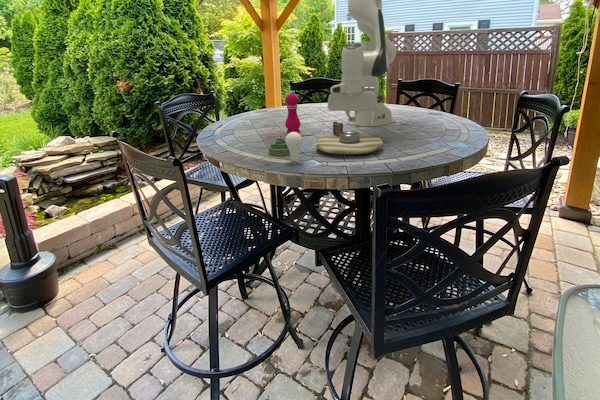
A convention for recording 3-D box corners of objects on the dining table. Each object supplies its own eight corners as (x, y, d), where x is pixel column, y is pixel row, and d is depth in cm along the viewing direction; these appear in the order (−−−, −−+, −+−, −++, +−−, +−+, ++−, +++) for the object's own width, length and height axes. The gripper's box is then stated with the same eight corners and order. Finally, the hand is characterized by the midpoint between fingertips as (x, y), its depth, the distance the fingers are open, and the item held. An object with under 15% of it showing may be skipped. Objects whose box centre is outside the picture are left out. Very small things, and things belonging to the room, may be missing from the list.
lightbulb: (292, 158, 139) (291, 129, 135) (306, 160, 136) (305, 131, 132) (283, 163, 135) (281, 133, 130) (296, 165, 131) (295, 134, 127)
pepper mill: (299, 135, 173) (297, 91, 165) (284, 135, 174) (281, 91, 167) (302, 132, 179) (300, 89, 172) (287, 132, 181) (285, 89, 173)
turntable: (317, 137, 160) (317, 122, 157) (378, 136, 157) (379, 121, 155) (314, 154, 136) (313, 137, 134) (386, 153, 134) (387, 135, 131)
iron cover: (339, 139, 150) (339, 129, 149) (359, 138, 149) (359, 129, 148) (339, 144, 143) (339, 134, 141) (360, 143, 142) (360, 133, 141)
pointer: (328, 139, 164) (327, 121, 161) (338, 138, 165) (338, 120, 162) (332, 142, 159) (331, 123, 156) (343, 141, 160) (343, 122, 157)
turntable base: (357, 140, 159) (357, 137, 159) (384, 151, 142) (384, 147, 142) (315, 147, 152) (315, 143, 152) (339, 159, 135) (339, 155, 135)
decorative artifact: (297, 150, 151) (274, 149, 153) (296, 133, 148) (273, 132, 151) (289, 157, 142) (265, 156, 144) (288, 139, 139) (264, 138, 142)
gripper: (379, 85, 149) (378, 119, 155) (329, 86, 155) (330, 119, 161) (377, 88, 144) (376, 123, 150) (326, 88, 150) (327, 122, 155)
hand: (352, 121), depth 155 cm, fingers closed
